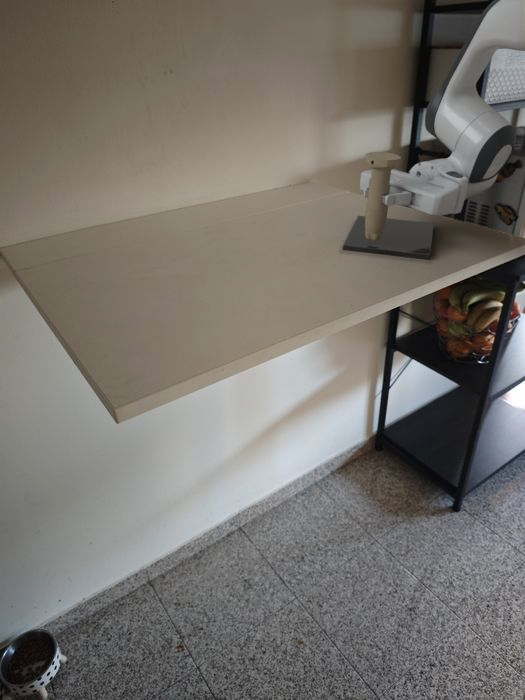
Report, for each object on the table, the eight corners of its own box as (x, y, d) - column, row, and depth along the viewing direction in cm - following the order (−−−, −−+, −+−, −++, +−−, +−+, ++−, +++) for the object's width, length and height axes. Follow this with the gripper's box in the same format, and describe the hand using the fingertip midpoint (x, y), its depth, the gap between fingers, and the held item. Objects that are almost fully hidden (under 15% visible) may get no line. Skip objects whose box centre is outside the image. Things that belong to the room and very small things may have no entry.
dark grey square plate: (433, 227, 106) (433, 222, 105) (429, 259, 91) (430, 254, 91) (357, 219, 110) (358, 215, 109) (342, 249, 95) (343, 245, 95)
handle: (371, 230, 98) (380, 150, 90) (394, 240, 94) (406, 157, 85) (352, 235, 96) (360, 154, 88) (375, 246, 92) (386, 161, 83)
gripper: (392, 157, 102) (339, 166, 96) (475, 180, 87) (419, 193, 81) (388, 188, 105) (337, 199, 99) (467, 215, 91) (413, 230, 85)
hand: (375, 196), depth 90 cm, fingers closed on handle, 3 cm apart
